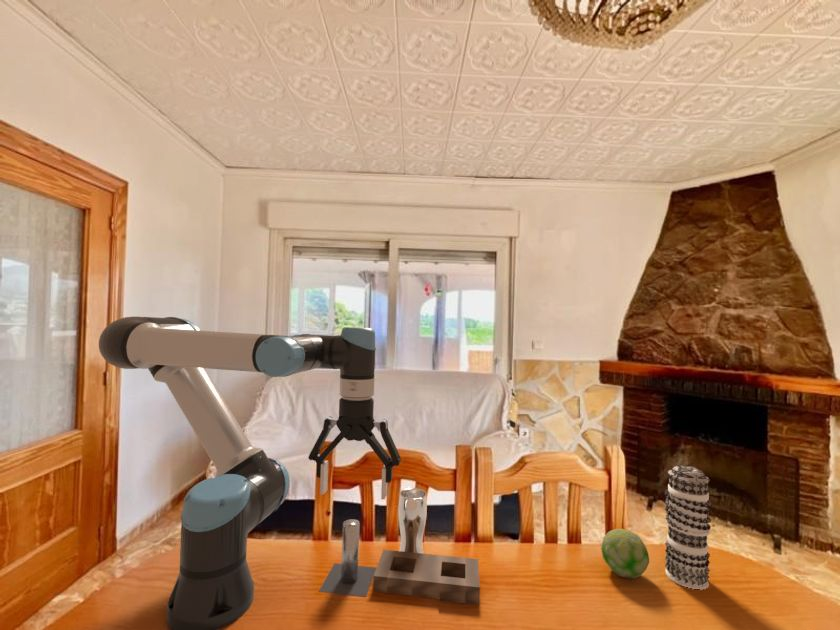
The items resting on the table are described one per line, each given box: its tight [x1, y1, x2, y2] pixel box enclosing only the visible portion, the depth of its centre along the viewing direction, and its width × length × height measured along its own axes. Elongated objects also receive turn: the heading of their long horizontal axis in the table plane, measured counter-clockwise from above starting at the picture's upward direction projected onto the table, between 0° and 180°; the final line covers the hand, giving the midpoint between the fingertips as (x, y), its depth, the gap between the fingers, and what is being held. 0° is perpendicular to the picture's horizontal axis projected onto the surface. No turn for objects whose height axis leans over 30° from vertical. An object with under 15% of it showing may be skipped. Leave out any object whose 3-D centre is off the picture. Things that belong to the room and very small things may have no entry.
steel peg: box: [340, 518, 361, 584], centre depth 88 cm, size 4×4×12 cm
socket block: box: [372, 549, 481, 606], centre depth 88 cm, size 22×10×4 cm, turn 84°
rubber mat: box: [318, 562, 377, 598], centre depth 88 cm, size 10×10×1 cm
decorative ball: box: [600, 528, 650, 579], centre depth 94 cm, size 10×10×10 cm
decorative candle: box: [664, 465, 713, 591], centre depth 93 cm, size 9×9×25 cm
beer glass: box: [398, 487, 428, 554], centre depth 98 cm, size 7×7×15 cm
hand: (353, 494), depth 88 cm, fingers open, 13 cm apart
